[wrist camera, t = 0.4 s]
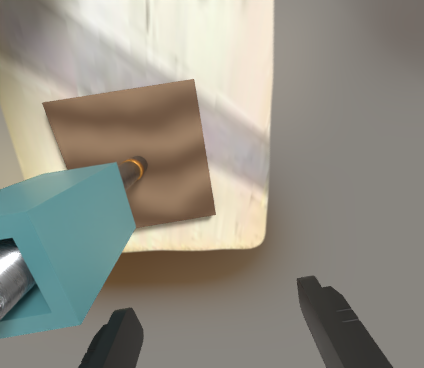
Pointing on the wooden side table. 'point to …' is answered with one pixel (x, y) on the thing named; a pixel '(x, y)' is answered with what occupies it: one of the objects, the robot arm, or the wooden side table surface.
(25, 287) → the pipe
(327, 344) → the robot arm
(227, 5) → the wooden side table surface
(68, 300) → the sleeve
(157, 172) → the stand board
